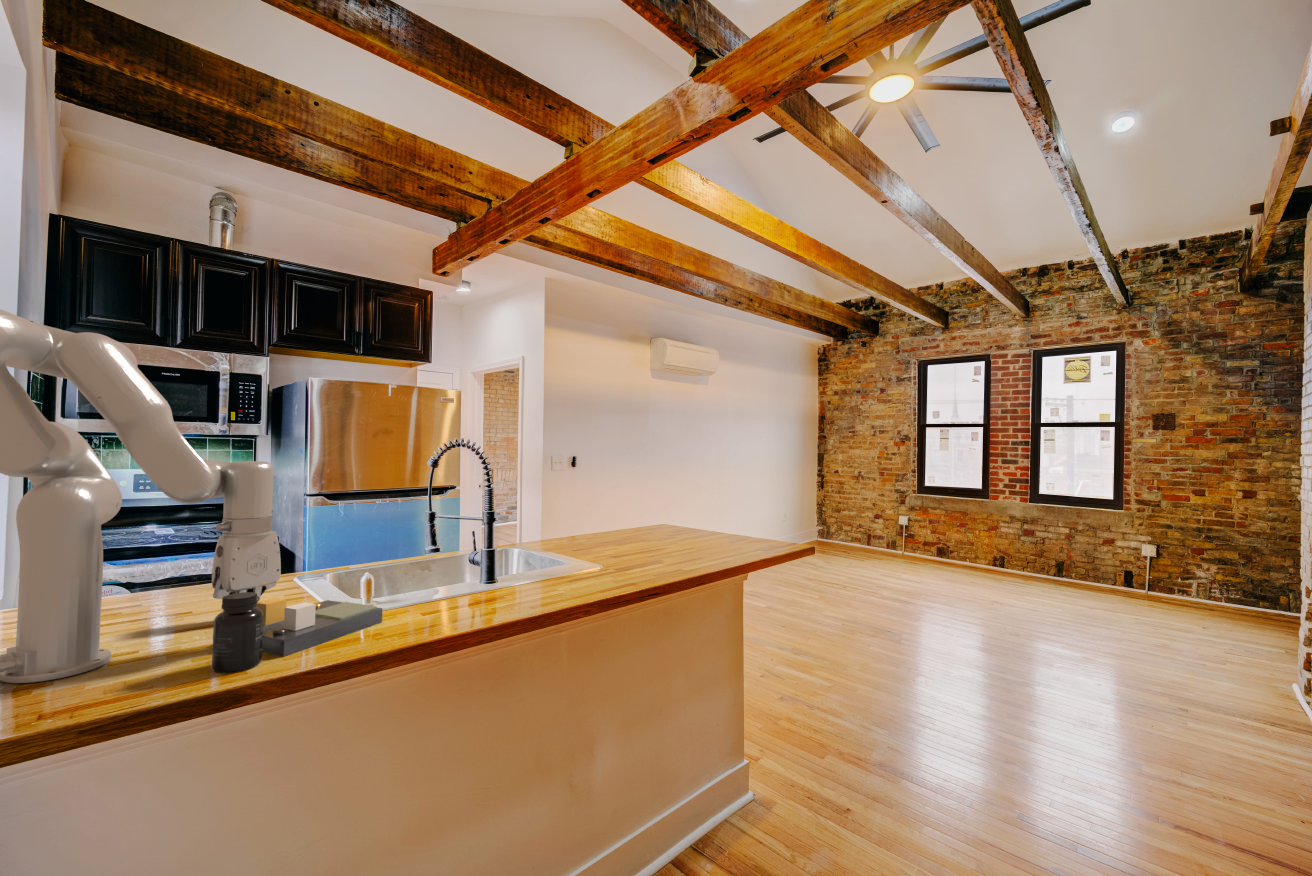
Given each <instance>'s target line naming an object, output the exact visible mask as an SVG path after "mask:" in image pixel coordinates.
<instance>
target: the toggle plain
mask: <svg viewBox="0 0 1312 876" xmlns="http://www.w3.org/2000/svg"><path fill="white" fill-rule="evenodd" d="M315 610H316V604H313V603H311V602H305V601H304V602H301V603H296V604H294V605H289V606H286V607H285V617H284V629H288V630H293V631H297V630H300V629H303V628H306V627H309V626H313V625H315Z"/></svg>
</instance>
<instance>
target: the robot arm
mask: <svg viewBox="0 0 1312 876" xmlns="http://www.w3.org/2000/svg"><path fill="white" fill-rule="evenodd" d="M8 368H14V369H19V370H23V371H27V372H31V373H32V372H33V373H37V374H43V375H48V376H51V377H57V378H61V379H67V380H69V381H70V382H71V383H72V384H73V386H75V388H77V390H78V391H79V392H80V393H81V394H82V396H84V397H85V399H86V400H87V401H88V402H89V403H90V404H91V405H92V406H93V407H94V409H95V410H96V411H97V412H98V414H100V415H101V416H102V418H103V419H104V420H105V421H106V422H107V423H108V424H109V425H110V426H111V428H112V430H113V431H114V432H115V434H116V436H117V438H118V439H119V441H120V442H121V443H122V444H123V446H124V448H125V449H126V451H127V452H128V453H129V455H130V456H131V458H132V460H134V462H135V463H136V465H137V466H138V467H139V468H140V469H141V470H142V472H144V474H145V475H146V476H147V477H148V478H149V479H150V480H151V481H152V483H153V484H155V486H156V487H157V488H158V489H159V490H160V491H161V492H162V494H164V495H165V496H167V498H168V499H171V500H173V501H175V502H177V503H180V504H186V505H189V504H197V503H202V502H205V501H207V500H211V499H217V498H223V511H222V514H223V517H222V521H221V523H217V524H216V526H215V530H216V531H218V532H221V533H222V535H219V536H218V540H217V543H216V547H215V550H214V553H213V554H214V555H213V560H212V561H213V562H212V570H211V571H212V572H211V587H212V589H214V590H213V593H212V598H213V599H219V600H222V598H223V597H224V596H226V595H230V594H235V593H244V592H253V593H257V601H258V602H260V600H261V596H262V595H263V594H264V593H265V592H266V591H268V590H269V589H272V588H274V587H275V586H276V585H277V582H278V581H279V580H280V579H281V573H282V570H281V569H282V566H281V565H282V563H281V560H282V559H281V551H280V550H281V549H280V543H279V538H278V534H277V531H275V530H273V510H274V509H273V502H274V500H273V499H274V477H275V476H274V475H275V472H274V469H275V468H274V466H273V465H272V464H271V462H268V461H261V460H260V461H259V460H258V461H255V460H253V461H252V460H247V461H246V460H244V461H243V460H239V461H232V462H229V461H228V462H227V461H226V462H225V461H217V460H210V459H209V460H208V459H203V458H202V457H201V456H200V455H199V453H197V452H196V450H195V449H194V448H193V446H191V444H190V443H189V442H188V441H187V439H186V438H185V437H184V435H183V434H182V432H180V430H179V427H178V426H177V424H176V423H175V421H174V416H173V412H172V408H171V406H170V404H169V403H168V401H167V400H166V398H164V396H163V395H162V394H161V393H160V392H159V390H158V389H157V388H156V387H155V386H154V385H153V384H152V382H150V380H149V379H148V378H147V377H146V376H145V374H144V373H143V372H142V371H141V370H140V369H139V367H138V360H137V358H136V355H135V354H134V353H133V351H132V350H131V349H130V348H129V347H128V346H126V345H125V344H123V343H121V342H120V341H118V340H115V339H113V338H111V337H109V336H107V335H104V334H101V333H98V332H90V331H89V332H88V331H87V332H86V331H85V332H83V331H82V332H74V331H73V332H72V331H68V330H63V329H62V328H61V329H60V328H57V327H52V326H50V325H49V326H48V325H45V324H41V323H38V322H34V321H31V320H29V319H26V318H24V317H21V316H18V315H16V314H15V313H11V312H9V311H6V310H3V309H0V474H2V475H5V476H8V477H13V478H28V480H29V482H30V483H31V484H32V485H33V487H31V488H30V489H29V490H28V491H27V492H26V493H24V495H23V496H22V498H21V499H20V500H19V503H18V505H17V509H16V512H15V513H16V516H15V517H16V518H15V519H16V520H15V521H16V522H15V523H16V528H17V529H16V530H17V535H18V546H19V573H18V579H19V581H18V597H17V618H16V619H17V620H16V637H15V646H11V647H8V648H6V653H4V654H3V653H2V654H0V681H1V682H4V683H7V684H8V683H9V684H28V683H30V684H31V683H39V682H47V681H53V680H57V679H62V678H66V677H71V676H76V675H79V674H82V673H86V672H89V671H93V670H95V669H97V668H98V669H99V668H100V667H102V666H104V665H105V664H107V663H108V662H110V661H111V659H112V652H111V651H110V650H109V649H105V648H100V638H101V635H100V634H101V621H102V620H101V617H102V616H101V615H102V597H103V594H102V593H103V577H104V570H103V569H104V564H103V563H104V543H103V536H102V534H103V533H102V525H103V524H106V523H108V521H111V520H112V519H113V518H114V517H115V516H117V514H118V513H119V511H120V510H121V507H122V504H123V495H122V492H121V490H120V488H119V486H118V484H117V483H116V481H115V480H114V478H113V477H112V475H111V474H110V472H109V471H108V470H107V468H106V467H105V465H104V464H103V462H102V461H101V460H100V458H99V457H98V455H97V454H96V452H95V450H94V449H93V448H92V447H91V445H90V444H89V443H88V441H87V439H85V438H84V437H83V436H82V435H81V434H80V433H79V431H76V430H75V429H74V428H72V427H70V426H68V425H66V424H62V423H60V422H56V421H49V420H48V418H46V417H45V416H44V414H43V413H42V412H41V411H40V409H39V408H38V406H37V405H36V404H35V403H34V401H33V400H32V398H31V397H30V395H29V394H28V392H27V391H26V389H25V388H24V387H23V386H22V384H21V383H20V382H18V381H17V379H16V378H15V377H14V376H13V375H12V374H11V373H10V370H9V369H8ZM226 590H227V591H228V592H227V591H226ZM255 607H256V606H255Z"/></svg>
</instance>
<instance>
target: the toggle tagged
mask: <svg viewBox="0 0 1312 876" xmlns="http://www.w3.org/2000/svg"><path fill="white" fill-rule="evenodd" d="M285 607H287V599H286V598H285V599H284V598H280V597H279V598H278V597H274V598H269V599H266V600H265V599H264V600H262V601H258V603H257V605H256V608H258V609H260V610H261V611H262V612H263V625H267V624H270V623H274V622H277V621H281V620H284V617H285Z"/></svg>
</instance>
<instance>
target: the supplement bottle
mask: <svg viewBox="0 0 1312 876" xmlns="http://www.w3.org/2000/svg"><path fill="white" fill-rule="evenodd" d="M258 602H259V601H257V593H253V592H244V593H235V594H230V595H226V596H224V597H223V598H222V599H221V607H220V608H221V609H222V611H221V612H220V613H218V614H217V615H216V616H215V617H214V619H213V630H212V632H213V633H212V649H211V650H212V651H211V669H212V671H213V672H215V673H217V674H234V673H239V672H245V671H247V670H251V669H253V668H255V667H257V666H258V665H260V663H261V662H262V658H263V657H262V656H263V652H262V641H263V612H262V611H261V610H260V609H258V608H256V607H255V606H256V605H257V603H258Z"/></svg>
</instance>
